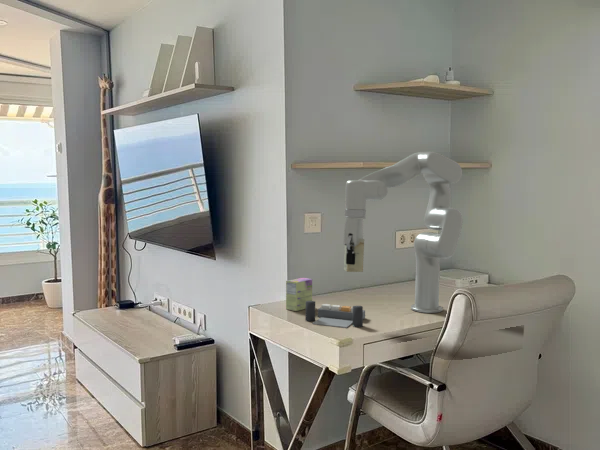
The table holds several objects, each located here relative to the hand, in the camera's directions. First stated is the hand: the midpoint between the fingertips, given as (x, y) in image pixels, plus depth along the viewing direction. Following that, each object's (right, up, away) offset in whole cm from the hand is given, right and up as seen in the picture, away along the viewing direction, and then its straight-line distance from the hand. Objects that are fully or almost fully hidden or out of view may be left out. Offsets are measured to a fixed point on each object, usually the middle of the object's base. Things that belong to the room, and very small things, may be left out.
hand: (353, 262), depth 203 cm
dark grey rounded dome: (-16, -22, +4) cm, 27 cm away
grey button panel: (-6, -22, +4) cm, 23 cm away
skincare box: (0, -3, 0) cm, 3 cm away
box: (-20, -20, +23) cm, 37 cm away
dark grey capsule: (+1, -23, -3) cm, 23 cm away
